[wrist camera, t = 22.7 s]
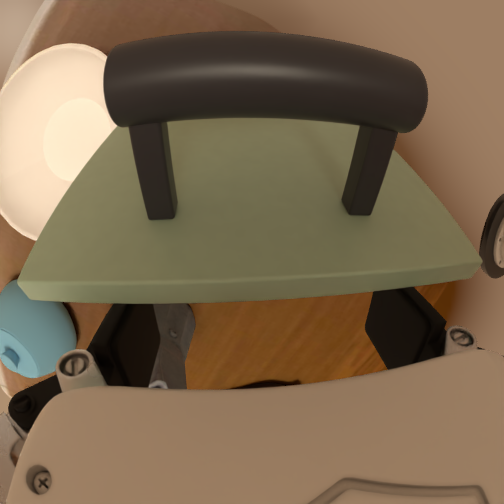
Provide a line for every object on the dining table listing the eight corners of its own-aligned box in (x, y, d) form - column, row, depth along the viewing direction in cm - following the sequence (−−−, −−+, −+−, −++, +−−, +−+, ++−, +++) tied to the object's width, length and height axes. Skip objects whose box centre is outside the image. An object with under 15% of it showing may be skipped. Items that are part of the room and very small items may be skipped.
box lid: (471, 279, 6) (549, 139, 3) (30, 301, 5) (-63, 132, 2) (329, 104, 17) (338, 40, 13) (146, 105, 16) (140, 38, 12)
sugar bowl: (-2, 296, 31) (-38, 336, 20) (34, 255, 29) (-14, 298, 19) (52, 360, 37) (28, 407, 26) (98, 335, 35) (71, 393, 24)
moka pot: (218, 288, 34) (218, 438, 15) (180, 367, 38) (168, 488, 20) (144, 259, 31) (77, 394, 13) (120, 346, 36) (82, 462, 18)
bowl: (179, 186, 28) (165, 201, 22) (48, 242, 29) (18, 266, 22) (131, 30, 20) (108, 7, 14) (7, 111, 21) (-28, 112, 14)
